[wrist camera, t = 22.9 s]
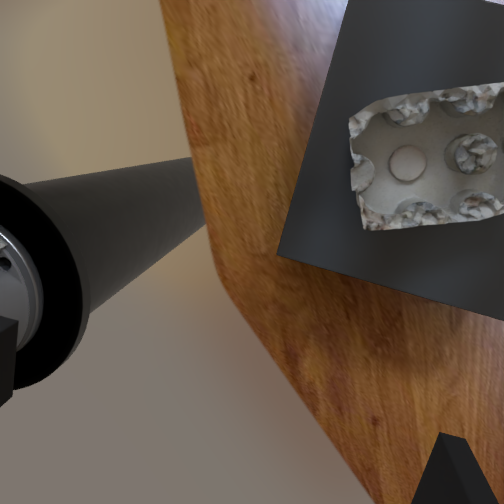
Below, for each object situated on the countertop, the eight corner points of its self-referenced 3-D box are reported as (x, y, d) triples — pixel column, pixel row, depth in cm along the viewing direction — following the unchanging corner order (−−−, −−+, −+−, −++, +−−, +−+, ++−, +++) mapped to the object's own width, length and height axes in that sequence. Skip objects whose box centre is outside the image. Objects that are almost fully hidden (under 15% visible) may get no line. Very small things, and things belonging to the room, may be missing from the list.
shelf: (282, 238, 37) (276, 255, 32) (351, -4, 32) (357, -31, 27) (479, 294, 36) (506, 322, 30) (582, 53, 31) (636, 36, 25)
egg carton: (352, 223, 30) (356, 236, 26) (344, 105, 29) (347, 101, 25) (526, 207, 28) (558, 219, 24) (529, 81, 27) (564, 71, 23)
